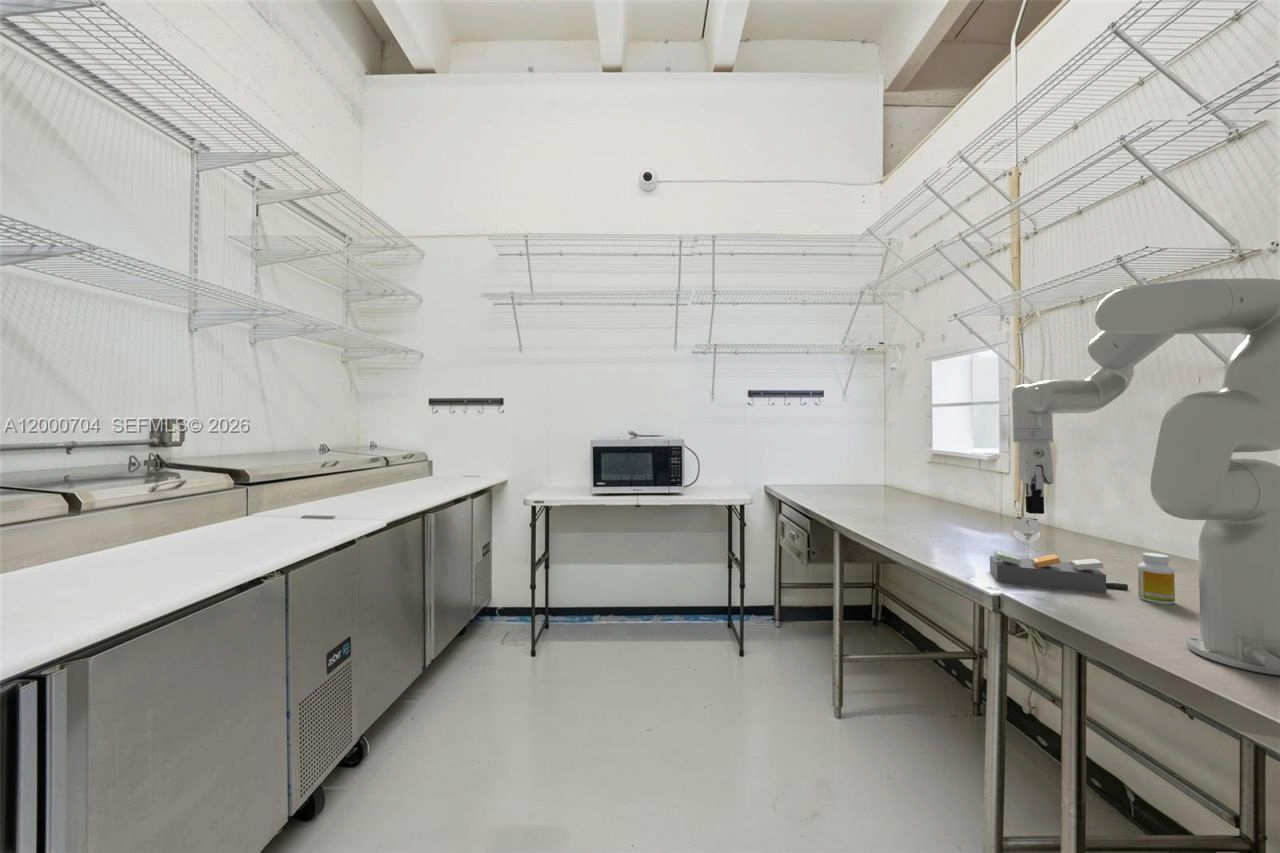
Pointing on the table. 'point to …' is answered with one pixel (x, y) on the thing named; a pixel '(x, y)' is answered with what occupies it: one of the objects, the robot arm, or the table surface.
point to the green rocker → (1007, 557)
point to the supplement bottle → (1156, 579)
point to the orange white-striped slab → (1046, 560)
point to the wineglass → (1027, 531)
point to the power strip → (1051, 576)
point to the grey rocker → (1087, 564)
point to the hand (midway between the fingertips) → (1034, 512)
